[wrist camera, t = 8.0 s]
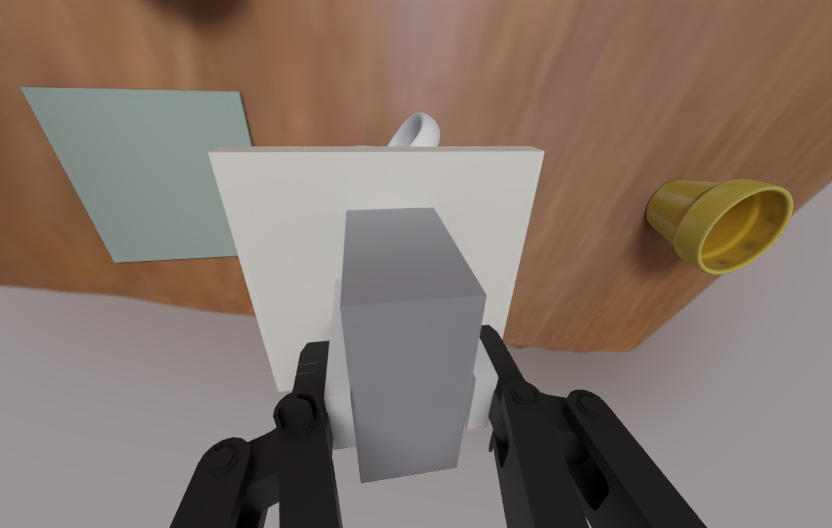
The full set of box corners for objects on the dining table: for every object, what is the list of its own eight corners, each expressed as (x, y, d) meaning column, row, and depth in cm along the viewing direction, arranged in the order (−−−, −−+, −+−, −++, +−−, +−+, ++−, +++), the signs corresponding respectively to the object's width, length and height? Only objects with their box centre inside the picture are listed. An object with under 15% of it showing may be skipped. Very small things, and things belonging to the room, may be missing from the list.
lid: (282, 376, 20) (243, 533, 13) (219, 146, 13) (63, 225, 6) (489, 353, 22) (550, 478, 15) (532, 146, 15) (680, 204, 8)
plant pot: (633, 181, 39) (708, 209, 31) (712, 150, 39) (810, 171, 31) (629, 248, 45) (692, 288, 36) (698, 222, 44) (778, 256, 36)
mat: (117, 260, 33) (114, 262, 33) (25, 86, 25) (19, 87, 25) (277, 251, 36) (276, 253, 35) (240, 91, 28) (238, 91, 27)
